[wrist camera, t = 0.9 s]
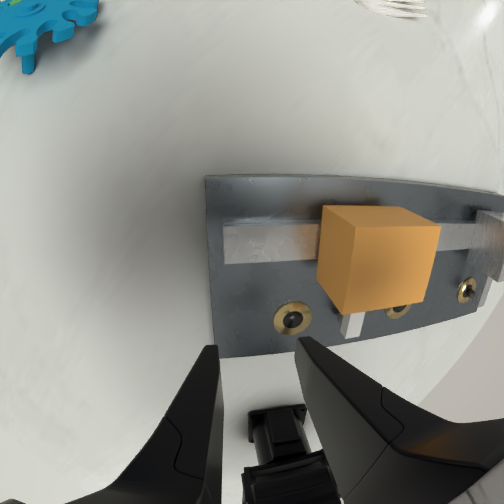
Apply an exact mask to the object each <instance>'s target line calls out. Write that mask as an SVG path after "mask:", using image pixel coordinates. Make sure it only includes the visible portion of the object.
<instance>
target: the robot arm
mask: <svg viewBox="0 0 504 504" xmlns="http://www.w3.org/2000/svg"><path fill="white" fill-rule="evenodd" d="M295 364H296V368H297V372H298V376H299V380H300V384H301V389H302V393H303V397H304V400H305V403H306V405H298V406H292V407H285V408H279V409H271V410H263V411H254V412H250V413H249V414H248V440H249V442H250V443H255V448H256V453H257V458H258V463H259V466H254V467H244V473H243V474H241V477H242V483H243V499H242V504H341V501H340V498H342V499H343V500H344V504H504V418H502V419H495V420H488V421H481V422H472V423H454V422H451V421H447V420H445V419H443V418H441V417H438V416H436V415H434V414H432V413H430V412H428V411H426V410H424V409H422V408H420V407H418V406H416V405H414V404H412V403H410V402H409V401H407V400H405V399H403V398H401V397H400V396H398V395H396V394H395V393H393V392H392V391H390V390H389V389H387V388H386V387H382V385H381V384H379V383H378V382H376V381H375V380H373V379H372V378H370V377H369V376H367V375H366V374H364V373H363V372H361V371H360V370H358V369H357V368H355V367H354V366H352V365H351V364H349V363H348V362H347V361H345V360H344V359H342V358H341V357H339V356H338V355H336V354H335V353H333V352H332V351H331V350H329V349H328V348H326V347H325V346H323V345H322V344H320V343H319V342H318V341H316V340H315V339H313V338H312V337H310V336H303V337H298V338H297V341H296V348H295ZM306 406H307V407H306ZM307 408H308V411H309V414H310V416H311V419H312V421H313V424H314V427H315V429H316V432H317V434H318V437H319V439H320V442H321V445H322V447H323V449H321V450H319V451H316V452H311V449H310V446H309V443H308V440H307V437H306V434H305V431H304V428H303V424H304V420H305V416H306V412H307ZM223 421H224V404H223V393H222V383H221V372H220V361H219V349H218V345H206V346H204V348H203V350H202V351H201V353H200V355H199V357H198V358H197V360H196V362H195V364H194V365H193V367H192V369H191V370H190V372H189V374H188V376H187V377H186V379H185V381H184V382H183V384H182V386H181V388H180V389H179V391H178V393H177V394H176V396H175V398H174V399H173V401H172V403H171V405H170V406H169V408H168V410H167V411H166V413H165V416H164V417H163V418H162V420H161V421H160V423H159V425H158V426H157V428H156V430H155V431H154V433H153V434H152V436H151V437H150V439H149V440H148V441H147V443H146V444H145V445H144V446H143V448H142V449H141V450H140V451H139V453H138V454H137V455H136V456H135V458H134V459H133V460H132V461H131V462H130V464H129V465H128V466H127V467H126V468H125V470H124V471H123V472H122V473H121V474H120V476H119V477H118V478H117V479H116V480H115V481H114V482H113V483H111V484H110V485H109V486H107V487H106V488H104V489H102V490H99V491H97V492H95V493H92V494H90V495H87V496H84V497H82V498H79V499H77V500H74V501H71V502H68V503H65V504H221V494H222V452H223ZM0 504H25V503H23V502H20V501H18V500H15V499H9V500H6V501H4V502H2V503H0Z"/></svg>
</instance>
